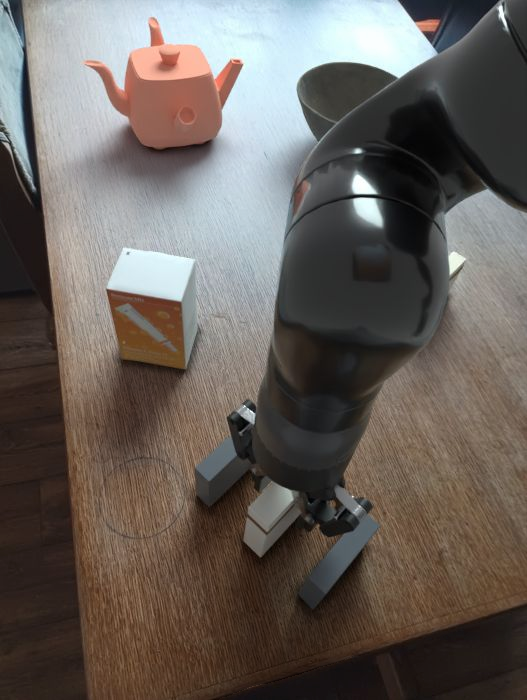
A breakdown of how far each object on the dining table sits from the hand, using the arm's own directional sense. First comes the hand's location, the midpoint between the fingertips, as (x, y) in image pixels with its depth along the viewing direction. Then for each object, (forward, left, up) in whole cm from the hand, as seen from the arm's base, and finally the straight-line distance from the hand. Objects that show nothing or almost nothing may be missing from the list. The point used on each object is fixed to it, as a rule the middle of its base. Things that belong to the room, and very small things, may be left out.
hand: (283, 502), depth 51 cm
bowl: (+35, -56, -6) cm, 66 cm away
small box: (+25, -6, -6) cm, 26 cm away
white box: (0, 0, -5) cm, 5 cm away
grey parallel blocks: (0, 0, -5) cm, 5 cm away
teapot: (+58, -37, -6) cm, 69 cm away
